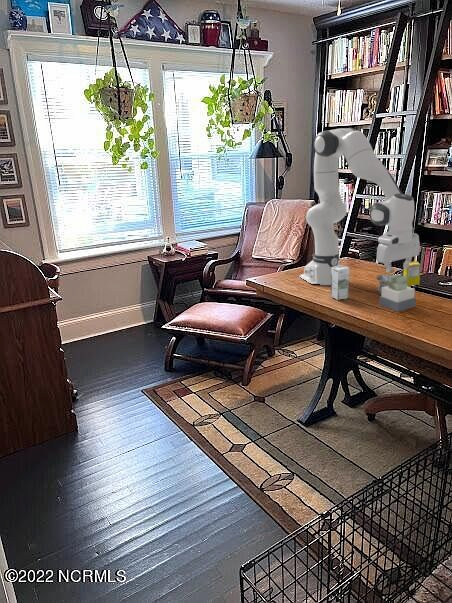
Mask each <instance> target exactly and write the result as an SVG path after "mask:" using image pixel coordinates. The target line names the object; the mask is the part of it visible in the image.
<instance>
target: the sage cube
mask: <svg viewBox="0 0 452 603" xmlns="http://www.w3.org/2000/svg"><path fill="white" fill-rule="evenodd" d="M388 288H390V289H393V290H396V291H399V290H403V289H407V277H406V276H403V275H402V274H399V273H397V274H393V276H389V284H388Z"/></svg>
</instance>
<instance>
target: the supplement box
mask: <svg viewBox="0 0 452 603" xmlns="http://www.w3.org/2000/svg"><path fill="white" fill-rule="evenodd" d="M403 263H405V261H404V262H403ZM421 266H422V265H421V264H420V263H419V262H418V261H411V262H410V263H409V267H408V268H403V276H406V277H407V286H408V287H411V286H412V285H419V286H420V281H421V268H422V267H421Z"/></svg>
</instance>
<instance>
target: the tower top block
mask: <svg viewBox="0 0 452 603" xmlns="http://www.w3.org/2000/svg"><path fill="white" fill-rule="evenodd" d="M415 291H416V289H415V287H413V288H411V287H408V286H407V289H403V290H399V291H396V290H393V289H390V288H388V286H385V287H382V293H381V294H380V295H381V296H380V297H384V298H387V299H390V300H392V301H395V302H401V301H405V300H408V299H412V298H415Z"/></svg>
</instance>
